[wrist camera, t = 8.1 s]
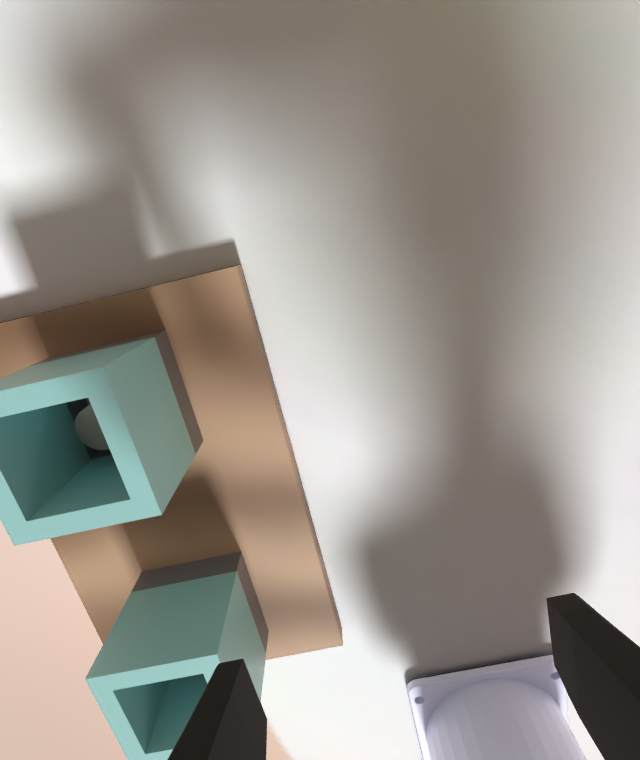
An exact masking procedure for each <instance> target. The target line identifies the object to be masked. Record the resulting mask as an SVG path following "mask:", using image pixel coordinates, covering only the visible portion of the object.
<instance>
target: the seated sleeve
mask: <svg viewBox="0 0 640 760" xmlns="http://www.w3.org/2000/svg"><path fill="white" fill-rule="evenodd" d="M268 633H269V630H268V627H267V624H266V621H265V619H264V616H263V613H262V610H261V607H260V604H259V601H258V598H257V595H256V592H255V589H254V587H253V584H252V581H251V578H250V575H249V572H248V569H247V566H246V563H245V560H244V557H243V555H242V552H236V553H231V554H226V555H221V556H216V557H211V558H206V559H201V560H197V561H192V562H187V563H182V564H177V565H172V566H167V567H162V568H157V569H152V570H147V571H142V572H141V574H140V576H139V578H138V580H137V582H136V583H135V585H134V587H133V589H132V591H131V593H130V595H129V597H128V599H127V601H126V602H125V604H124V606H123V608H122V610H121V612H120V614H119V616H118V618H117V620H116V622H115V623H114V625H113V627H112V629H111V631H110V633H109V635H108V637H107V639H106V641H105V642H104V644H103V646H102V648H101V650H100V652H99V654H98V656H97V658H96V660H95V662H94V664H93V666H92V667H91V669H90V671H89V673H88V675H87V677H86V679H85V680H86V682H87V684H88V686H89V688H90V689H91V691H92V693H93V695H94V697H95V699H96V701H97V703H98V704H99V706H100V708H101V710H102V712H103V714H104V716H105V718H106V720H107V721H108V723H109V725H110V727H111V729H112V731H113V732H114V735H115V736H116V738H117V740H118V742H119V744H120V746H121V748H122V750H123V751H124V753H125V755H126V757H127V759H128V760H167V759H168V758H169V756H170V754H171V752H172V750H173V748H174V747H175V745H176V743H177V741H178V739H179V738H180V736H181V734H182V732H183V730H184V728H185V726H186V724H187V723H188V721H189V719H190V717H191V715H192V713H193V711H194V709H195V707H196V705H197V703H198V702H199V700H200V698H201V696H202V694H203V692H204V690H205V688H206V686H207V684H208V682H209V680H210V678H211V676H212V674H213V672H214V670H215V668H216V667H217V665H218V664H219V663H223V662H228V661H233V660H238V659H244V662H245V664H246V667H247V669H248V672H249V675H250V677H251V680H252V682H253V685H254V687H255V690H256V693H257V695H258V698H259V700H261V692H262V683H263V675H264V666H265V658H266V650H267V641H268Z"/></svg>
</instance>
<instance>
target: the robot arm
mask: <svg viewBox="0 0 640 760" xmlns="http://www.w3.org/2000/svg"><path fill="white" fill-rule="evenodd" d="M547 607H548V616H549V624H550V633H551V642H552V651H553V655H547V656H541V657H536V658H530V659H525V660H519V661H514V662H508V663H503V664H497V665H492V666H486V667H481V668H475V669H470V670H464V671H459V672H453V673H448V674H442V675H437V676H431V677H426V678H420V679H415V680H412V681H410V682H409V683H408V685H407V691H408V696H409V700H410V704H411V709H412V713H413V717H414V721H415V726H416V730H417V734H418V739H419V743H420V747H421V752H422V756H423V760H587V759H586V757H585V756H584V754H583V752H582V750H581V748H580V746H579V744H578V742H577V740H576V738H575V737H574V735H573V733H572V731H571V729H570V727H569V715H568V702H567V693H568V695H569V697H570V699H571V701H572V703H573V705H574V707H575V709H576V711H577V713H578V715H579V717H580V719H581V721H582V722H583V724H584V726H585V727H586V729H587V731H588V732H589V734H590V736H591V737H592V739H593V741H594V742H595V744H596V746H597V747H598V749H599V751H600V752H601V754H602V756H603V757H604V759H605V760H640V647H639V646H638V645H637V644H635V643H634V642H633V641H632V640H630V639H629V638H628V637H627V636H626V635H624V634H623V633H622V632H621V631H619V630H618V629H617V628H616V627H615V626H613V625H612V624H611V623H610V622H609V621H607V620H606V619H605V618H604V617H603V616H601V615H600V614H599V613H598V612H597V611H596V610H594V609H593V608H592V607H591V606H590V605H588V604H587V603H586V602H585V601H584V600H583V599H581V598H580V597H579V596H578V595H576V594H574V593H571V594H566V595H561V596H556V597H550V598H547ZM266 739H267V718H266V716H265V713H264V710H263V708H262V705H261V703H260V700H259V698H258V695H257V693H256V690H255V687H254V685H253V682H252V680H251V677H250V675H249V672H248V669H247V667H246V664H245V662H244V659H238V660H233V661H228V662H223V663H219V664H218V665H217V667H216V668H215V670H214V672H213V674H212V676H211V678H210V680H209V682H208V684H207V686H206V688H205V690H204V692H203V694H202V696H201V698H200V700H199V702H198V703H197V705H196V707H195V709H194V711H193V713H192V715H191V717H190V719H189V721H188V723H187V724H186V726H185V728H184V730H183V732H182V734H181V736H180V738H179V739H178V741H177V743H176V745H175V747H174V748H173V750H172V752H171V754H170V756H169V758H168V759H167V760H266Z"/></svg>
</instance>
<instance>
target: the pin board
mask: <svg viewBox="0 0 640 760" xmlns="http://www.w3.org/2000/svg"><path fill="white" fill-rule="evenodd" d="M165 330H166V332H167V335H168V338H169V341H170V344H171V346H172V349H173V352H174V355H175V358H176V361H177V364H178V367H179V370H180V373H181V376H182V379H183V382H184V385H185V388H186V390H187V393H188V396H189V399H190V402H191V405H192V408H193V411H194V414H195V417H196V420H197V423H198V426H199V429H200V431H201V434H202V437H203V440H204V441H203V443H202V444H201V446H200V448H199V450H198V451H197V453H196V455H195V457H194V459H193V460H192V462H191V464H190V466H189V467H188V469H187V471H186V473H185V475H184V476H183V478H182V480H181V482H180V483H179V485H178V487H177V489H176V491H175V492H174V494H173V496H172V498H171V500H170V501H169V503H168V505H167V507H166V508H165V510H164V512H163V514H162V515H159V516H155V517H150V518H145V519H140V520H135V521H131V522H126V523H121V524H116V525H111V526H107V527H102V528H97V529H92V530H87V531H83V532H78V533H73V534H68V535H63V536H59V537H54V538H51V540H52V542H53V544H54V546H55V548H56V550H57V552H58V554H59V556H60V558H61V560H62V562H63V564H64V566H65V568H66V570H67V572H68V574H69V577H70V579H71V581H72V582H73V584H74V587H75V589H76V591H77V593H78V595H79V596H80V598H81V601H82V602H83V605H84V606H85V609H86V610H87V613H88V615H89V617H90V618H91V621H92V623H93V625H94V627H95V628H96V631H97V633H98V635H99V637H100V639H101V640H102V643H103V644H104V642H105V641H106V639H107V637H108V635H109V633H110V631H111V629H112V627H113V625H114V623H115V622H116V620H117V618H118V616H119V614H120V612H121V610H122V608H123V606H124V604H125V602H126V601H127V599H128V597H129V595H130V593H131V591H132V589H133V587H134V585H135V583H136V582H137V580H138V578H139V576H140V574H141V572H142V571H147V570H152V569H157V568H162V567H167V566H172V565H177V564H182V563H187V562H192V561H197V560H201V559H206V558H211V557H216V556H221V555H226V554H231V553H236V552H242V555H243V557H244V560H245V563H246V566H247V569H248V572H249V575H250V578H251V581H252V584H253V587H254V589H255V592H256V595H257V598H258V601H259V604H260V607H261V610H262V613H263V616H264V619H265V621H266V624H267V627H268V630H269V633H268V641H267V650H266V658H265V660H268V659H273V658H278V657H283V656H289V655H294V654H299V653H305V652H310V651H315V650H321V649H326V648H331V647H337V646H342V645H343V640H342V627H341V624H340V620H339V616H338V613H337V609H336V606H335V602H334V598H333V595H332V591H331V588H330V584H329V580H328V577H327V573H326V570H325V566H324V562H323V559H322V555H321V552H320V548H319V544H318V541H317V537H316V534H315V530H314V526H313V523H312V519H311V516H310V512H309V508H308V505H307V501H306V498H305V494H304V490H303V487H302V483H301V479H300V476H299V472H298V469H297V465H296V461H295V458H294V454H293V451H292V447H291V443H290V440H289V436H288V433H287V429H286V425H285V422H284V418H283V415H282V411H281V407H280V404H279V400H278V397H277V393H276V389H275V386H274V382H273V379H272V375H271V371H270V368H269V364H268V361H267V357H266V353H265V350H264V346H263V343H262V339H261V335H260V332H259V328H258V325H257V321H256V317H255V314H254V310H253V307H252V303H251V299H250V296H249V292H248V289H247V285H246V281H245V278H244V274H243V270H242V267H241V265H238V266H234V267H230V268H225V269H221V270H217V271H213V272H209V273H205V274H201V275H197V276H192V277H188V278H184V279H180V280H176V281H172V282H168V283H164V284H159V285H155V286H151V287H147V288H143V289H139V290H135V291H131V292H126V293H122V294H118V295H114V296H110V297H106V298H102V299H97V300H93V301H89V302H85V303H81V304H77V305H73V306H69V307H64V308H60V309H56V310H52V311H48V312H44V313H40V314H36V315H31V316H27V317H23V318H19V319H15V320H11V321H7V322H3V323H0V379H1V378H3V377H5V376H8V375H10V374H12V373H15V372H17V371H19V370H21V369H24V368H26V367H28V366H31V365H33V364H35V363H38V362H40V361H42V360H45V359H47V358H49V357H54V356H58V355H62V354H66V353H71V352H75V351H79V350H84V349H88V348H92V347H96V346H101V345H105V344H109V343H114V342H118V341H122V340H126V339H131V338H135V337H139V336H143V335H148V334H152V333H156V332H161V331H165ZM86 401H87V403H88V406H87V407H86V408H85V409H83V410H82V411H81V412H79V414H78V415H77V417H76V419H75V425H74V426H75V431H76V434H77V436H78V438H79V439H80V440H81V441H82V442H83V443H84V444H85V445H87V446H88V447H90V448H93V449H96V450H108V449H109V446H108V444H107V442H106V439H105V437H104V434H103V432H102V430H101V427H100V425H99V422H98V420H97V418H96V415H95V413H94V410H93V408H92V406H91V403H90V401H89V398H86Z"/></svg>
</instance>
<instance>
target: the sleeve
mask: <svg viewBox="0 0 640 760" xmlns="http://www.w3.org/2000/svg"><path fill="white" fill-rule="evenodd" d="M86 398H89V401H90V403H91V406H92V408H93V410H94V413H95V415H96V418H97V420H98V422H99V425H100V427H101V430H102V432H103V434H104V437H105V439H106V442H107V444H108V446H109V449H108V450H96V449H93V448H90V447H88V446H87V445H85V444H84V443H83V442H82V441H81V440H80V439H79V438H78V436H77V434H76V431H75V426H74V425H75V419H76V417H77V415H78V414H79V412H81V411H82V410H83V409H85V408H86V407H87V406H88V403H87V401H86ZM203 441H204V440H203V437H202V434H201V431H200V429H199V426H198V423H197V420H196V417H195V414H194V411H193V408H192V405H191V402H190V399H189V396H188V393H187V390H186V388H185V385H184V382H183V379H182V376H181V373H180V370H179V367H178V364H177V361H176V358H175V355H174V352H173V349H172V346H171V344H170V341H169V338H168V335H167V332H166V330H165V331H161V332H156V333H152V334H148V335H143V336H139V337H135V338H131V339H126V340H122V341H118V342H114V343H109V344H105V345H101V346H96V347H92V348H88V349H84V350H79V351H75V352H71V353H66V354H62V355H58V356H54V357H49V358H47V359H45V360H42V361H40V362H38V363H35V364H33V365H31V366H28V367H26V368H24V369H21V370H19V371H17V372H15V373H12V374H10V375H8V376H5V377H3V378H1V379H0V519H1V521H2V523H3V525H4V527H5V529H6V531H7V533H8V535H9V536H10V538H11V540H12V542H13V544H14V545H20V544H25V543H29V542H35V541H39V540H44V539H49V538H54V537H59V536H63V535H68V534H73V533H78V532H83V531H87V530H92V529H97V528H102V527H107V526H111V525H116V524H121V523H126V522H131V521H135V520H140V519H145V518H150V517H155V516H159V515H162V514H163V512H164V510H165V508H166V507H167V505H168V503H169V501H170V500H171V498H172V496H173V494H174V492H175V491H176V489H177V487H178V485H179V483H180V482H181V480H182V478H183V476H184V475H185V473H186V471H187V469H188V467H189V466H190V464H191V462H192V460H193V459H194V457H195V455H196V453H197V451H198V450H199V448H200V446H201V444H202V443H203Z"/></svg>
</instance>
